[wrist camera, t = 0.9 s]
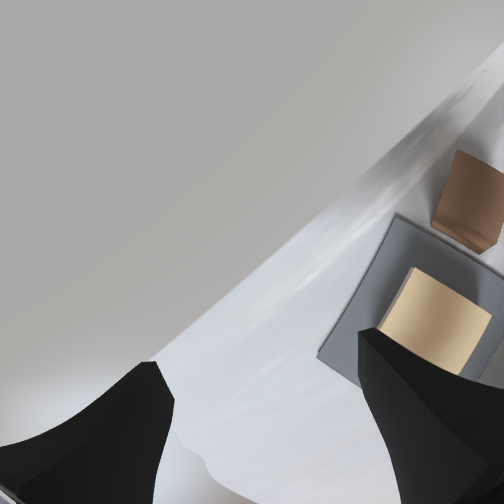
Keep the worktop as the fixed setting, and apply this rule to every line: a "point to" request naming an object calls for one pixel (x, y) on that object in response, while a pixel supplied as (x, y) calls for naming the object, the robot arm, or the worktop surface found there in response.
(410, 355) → the robot arm
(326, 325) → the worktop surface
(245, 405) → the worktop surface
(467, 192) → the walnut block
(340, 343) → the mat
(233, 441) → the worktop surface
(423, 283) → the oak block
